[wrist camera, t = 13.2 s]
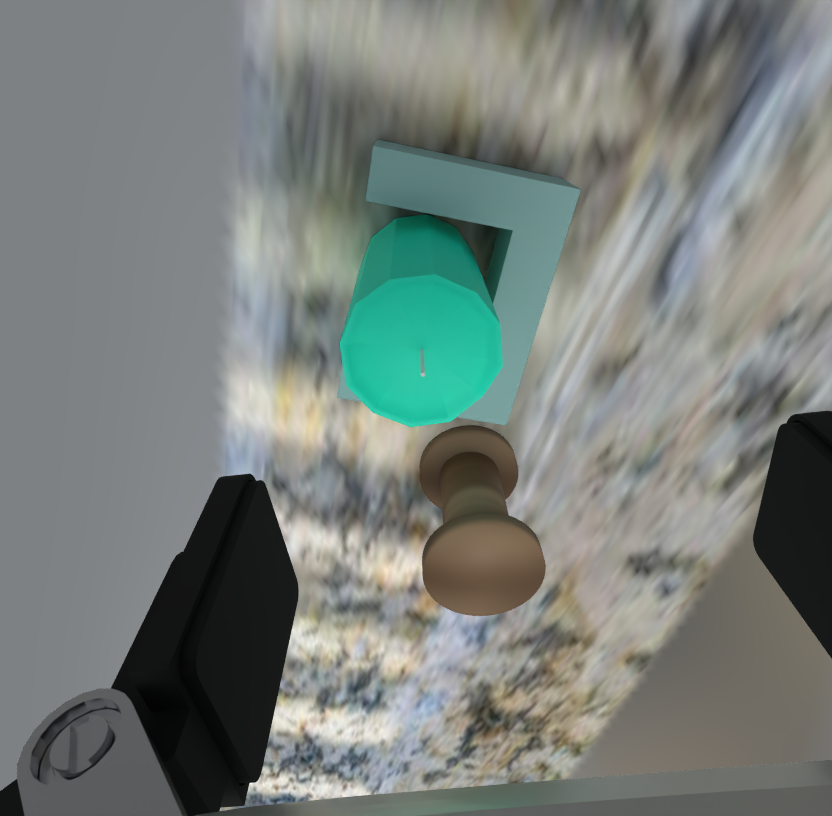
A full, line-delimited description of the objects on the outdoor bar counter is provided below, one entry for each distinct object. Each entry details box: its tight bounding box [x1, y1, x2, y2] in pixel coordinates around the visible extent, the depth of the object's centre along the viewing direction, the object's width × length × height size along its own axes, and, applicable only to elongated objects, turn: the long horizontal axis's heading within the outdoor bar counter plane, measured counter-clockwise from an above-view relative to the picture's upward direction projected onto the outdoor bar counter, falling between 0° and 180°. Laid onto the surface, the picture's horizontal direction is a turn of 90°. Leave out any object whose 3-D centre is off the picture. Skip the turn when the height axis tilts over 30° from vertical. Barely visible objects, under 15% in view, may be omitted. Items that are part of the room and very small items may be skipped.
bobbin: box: [420, 426, 546, 616], centre depth 32 cm, size 6×6×9 cm
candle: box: [339, 214, 503, 427], centre depth 24 cm, size 6×6×12 cm
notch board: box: [337, 139, 581, 425], centre depth 28 cm, size 12×9×4 cm
